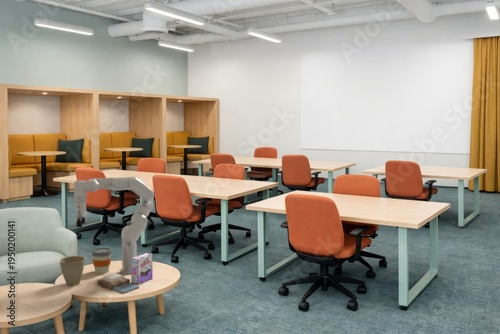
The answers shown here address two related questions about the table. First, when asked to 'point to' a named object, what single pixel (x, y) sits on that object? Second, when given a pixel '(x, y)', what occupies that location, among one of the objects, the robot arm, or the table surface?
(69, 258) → the plant pot
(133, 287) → the mat
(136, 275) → the candy box
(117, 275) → the tile
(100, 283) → the brown flat square block
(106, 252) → the reusable coffee cup
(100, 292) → the table surface
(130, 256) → the robot arm
